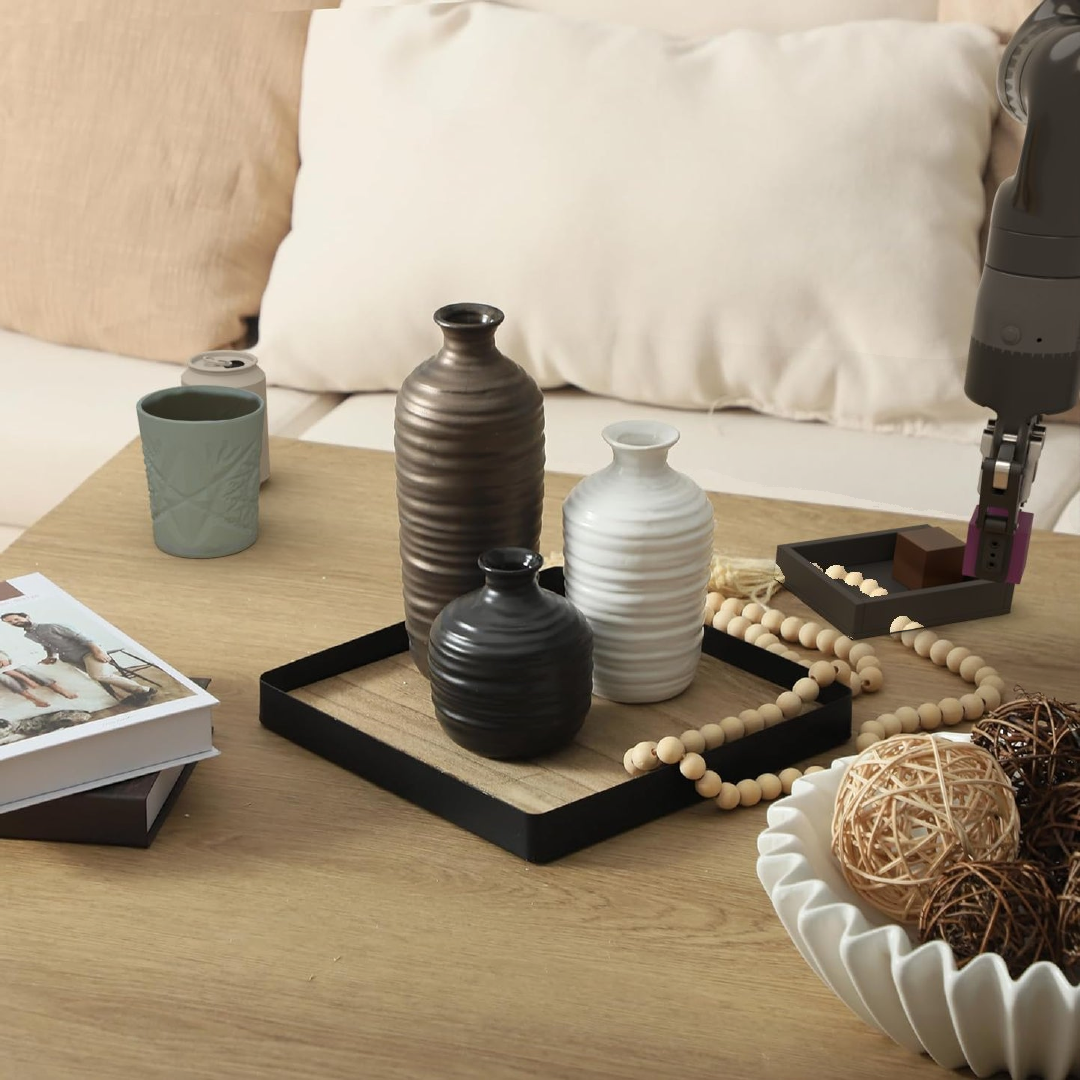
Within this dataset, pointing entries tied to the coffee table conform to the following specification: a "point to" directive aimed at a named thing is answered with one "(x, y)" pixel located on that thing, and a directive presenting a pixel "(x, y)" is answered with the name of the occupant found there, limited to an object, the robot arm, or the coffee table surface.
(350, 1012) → the coffee table surface
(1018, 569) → the plum block
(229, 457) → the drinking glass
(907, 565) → the walnut block
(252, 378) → the can
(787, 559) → the tray
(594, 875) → the coffee table surface
